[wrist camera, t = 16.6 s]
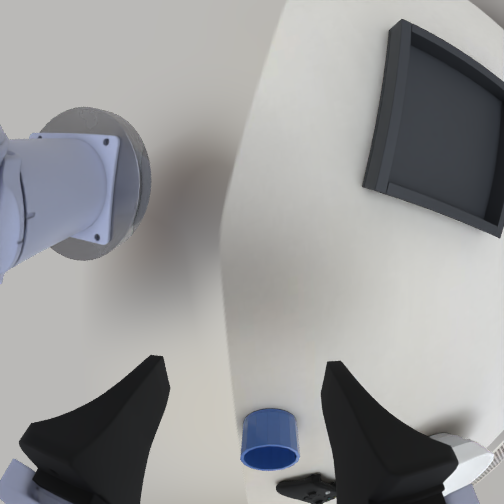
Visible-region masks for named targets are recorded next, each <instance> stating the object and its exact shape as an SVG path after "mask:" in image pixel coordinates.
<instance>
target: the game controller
mask: <svg viewBox="0 0 504 504" xmlns="http://www.w3.org/2000/svg"><path fill="white" fill-rule="evenodd" d="M276 490H277V492H278V493H280V494H281V495H284V496H287V497H290V498H293V499H298V500H301V501H305V502H308V503H311V504H323V503H325V502H327V501H330V500H332V499H335V497H337V494H336V482H335V483H334V482H333V483H331V484H327V483H325V482H322V481H321V475H320V474H316V475H311V476H309V477H308V478H307V479H305V480H300V481H285V482H281V483H279V484H277V486H276Z"/></svg>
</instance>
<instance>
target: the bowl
mask: <svg viewBox="0 0 504 504" xmlns="http://www.w3.org/2000/svg"><path fill="white" fill-rule="evenodd" d="M429 437H430V438H432V439H435V440H437V441H440V442H442V443H445V444H448V445H451V447H452V449H453V451H454V452H455V455H456V457H457V459H458V462H459V464H458V467H457V469H456V470H455V471H454V472H453V473H452V474H451V475H450V476H449V477H448V478H447V479H446V480H445V481H444V482H443V484H444V487H445V490H444V491H443V492H442V493H443V496H446V495H448V494H449V493H451V492H453V491H456V490H458V489H460V488H462V487H464V486H466V485H468V484H470V483H471V482H473V481H474V480H475V479H476V478H477V477H478V476H479V475H481V474H482V473H483V472H484V471H485V469H486V468H487V467H488V466H489V465H490V463H491V462H492V460H493V458H494V453H492V452H491V451H489V450H488V449H487V448H485V447H484V446H482V445H481V444H479V443H478V442H475V441H472V440H470V439H465V438H462V437H461V436H457V435H450V434H448V433H439V434H435V435H432V436H429Z"/></svg>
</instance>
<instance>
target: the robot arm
mask: <svg viewBox="0 0 504 504" xmlns="http://www.w3.org/2000/svg"><path fill="white" fill-rule="evenodd" d="M41 137H42V138H41ZM107 139H109V144H108V145H106V140H107ZM119 147H120V139H119V137H118V136H114V135H100V134H79V133H32V134H31V135H30V137H29V139H12V140H11V139H10V140H9V139H8V137H7V135H6V134H5V133H4V131H3V129H2V127H1V125H0V284H1V283H2V281H3V276H4V274H5V272H7V271H8V270H9V269H11V268H13V267H14V266H16V265H18V264H19V263H21V262H23V261H25V260H27V259H29V258H30V257H32V256H34V255H36V254H37V253H39V252H41V251H43V250H45V249H47V248H49V247H51V246H53V245H55V244H57V243H59V242H60V241H62V240H64V239H66V238H68V237H73V238H77V239H81V240H85V241H89V242H93V243H97V244H101V245H105V244H107V243H109V241H110V232H111V216H112V204H113V193H114V184H115V175H116V168H117V160H118V154H119ZM97 234H98V235H99V236H100V239H98V238H97ZM169 392H170V385H169V381H168V376H167V372H166V368H165V363H164V359H163V356H154V355H150V356H149V357H148V358H146V359H145V360H144V361H143V362H142V363H141V364H140V365H139V366H137V367H136V368H135V369H134V370H133V371H132V372H131V373H129V374H128V375H127V376H126V377H125V378H124V379H122V380H121V381H120V382H119V383H117V384H116V385H115V386H113V387H112V388H111V389H109V390H108V391H107V392H106V393H104V394H102V395H101V396H99V397H98V398H96V399H94V400H93V401H91V402H89V403H87V404H85V405H83V406H81V407H79V408H77V409H75V410H73V411H71V412H68V413H66V414H63V415H61V416H58V417H55V418H51V419H48V420H44V421H39V422H35V423H31V424H30V426H29V427H28V429H27V430H26V432H25V433H24V435H23V436H22V438H21V440H20V441H19V445H20V447H21V449H22V451H23V452H24V453H25V454H26V455H27V456H28V458H29V459H30V460H31V461H32V462H33V463H34V464H35V465H36V466H37V467H38V469H37V471H36V472H34V471H33V470H32V469H31V468H29V467H27V466H26V465H24V464H22V463H21V462H19V461H18V460H16V459H13V460H12V462H11V463H10V465H9V467H8V468H7V470H6V471H5V473H4V475H3V477H2V478H1V480H0V499H1V500H2V501H3V502H4V503H6V504H140V498H141V491H142V485H143V478H144V473H145V469H146V464H147V459H148V455H149V451H150V448H151V445H152V442H153V439H154V437H155V434H156V431H157V429H158V426H159V424H160V421H161V419H162V416H163V413H164V411H165V408H166V404H167V401H168V396H169ZM321 401H322V410H323V415H324V420H325V424H326V428H327V432H328V436H329V440H330V444H331V448H332V453H333V459H334V468H335V478H336V494H337V504H480V503H479V500H478V498H477V496H476V493H475V491H474V488H473V486H472V484H468V485H466V486H464V487H462V488H460V489H458V490H456V491H453V492H451V493H449V494H448V495H446V496H443V493H442V492H443V491H444V490H445V487H444V484H443V482H444V481H445V480H446V479H447V478H448V477H449V476H450V475H451V474H452V473H453V472H454V471H455V470H456V469H457V467H458V464H459V462H458V459H457V457H456V455H455V452H454V451H453V449H452V447H451V445H448V444H445V443H442V442H440V441H437V440H435V439H432V438H430V437H428V436H426V435H424V434H422V433H420V432H418V431H416V430H414V429H413V428H411V427H409V426H408V425H406V424H405V423H403V422H401V421H400V420H399V419H397V418H396V417H394V416H393V415H392V414H391V413H389V412H388V411H387V410H386V409H384V408H383V407H382V406H381V405H380V404H379V403H378V402H377V401H376V400H375V399H374V398H373V397H372V396H371V395H370V394H369V393H368V392H367V391H366V390H365V389H364V388H363V387H362V386H361V384H360V383H359V382H358V381H357V380H356V379H355V377H354V376H353V375H352V374H351V373H350V371H349V370H348V369H347V368H346V366H345V365H344V364H343V363H342V362H341V361H329V362H327V366H326V371H325V376H324V381H323V385H322V390H321Z"/></svg>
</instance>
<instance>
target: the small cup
mask: <svg viewBox="0 0 504 504" xmlns="http://www.w3.org/2000/svg"><path fill="white" fill-rule="evenodd" d="M299 458H300V450H299V439H298V428H297V423H296V419H295V417H294V416H293V415H292V414H290V413H289V412H287V411H284V410H280V409H262V410H258V411H255V412H253V413H251V414H249V415H248V416H247V417H246V418H245V420H244V423H243V434H242V446H241V458H240V460H241V461H242V462H243V464H244V465H246V466H248V467H250V468H252V469H257V470H262V471H275V470H282V469H285V468H288V467H291V466H293V465H294V464H295V463H297V462H298V460H299Z"/></svg>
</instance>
